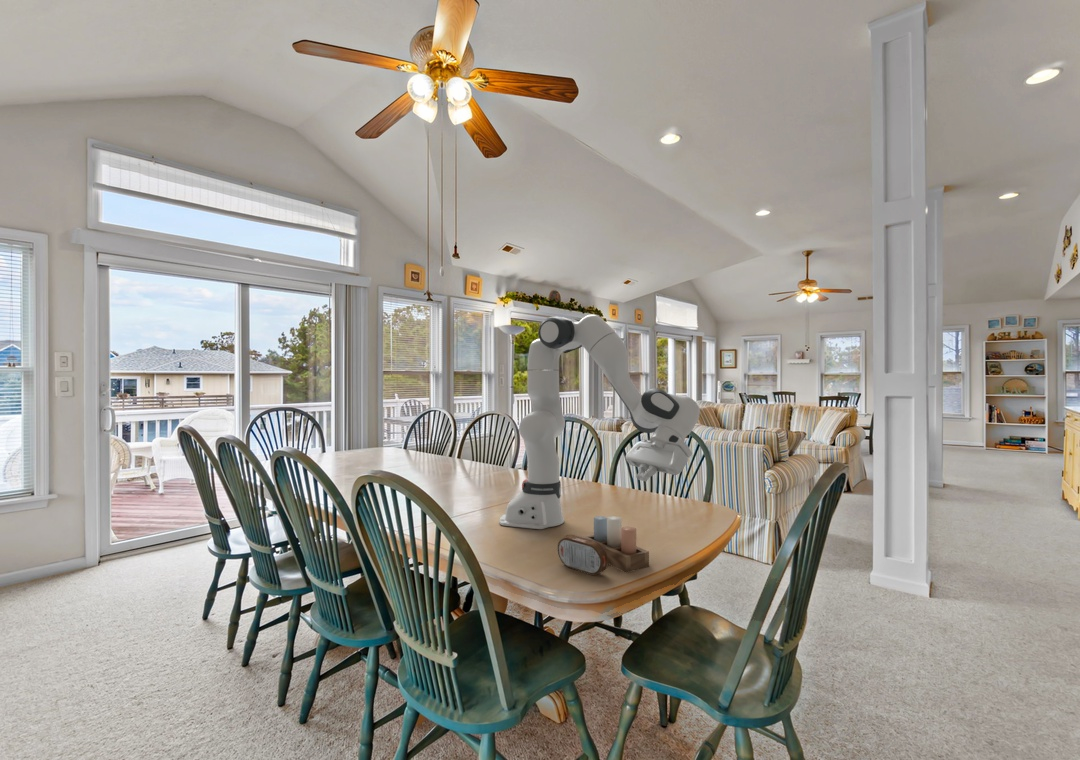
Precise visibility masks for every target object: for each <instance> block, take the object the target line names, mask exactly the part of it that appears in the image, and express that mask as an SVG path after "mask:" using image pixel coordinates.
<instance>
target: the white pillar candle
mask: <svg viewBox="0 0 1080 760" xmlns="http://www.w3.org/2000/svg"><path fill="white" fill-rule="evenodd" d="M622 519H623V518H622V517H620V516H615V515H614V516H613V515H612V516H608V517H607V546H609V547H611V548H617V547H621V528H623V526H622V524H623V523H622V521H623V520H622Z"/></svg>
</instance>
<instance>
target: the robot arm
mask: <svg viewBox="0 0 1080 760" xmlns="http://www.w3.org/2000/svg"><path fill="white" fill-rule="evenodd" d="M537 335H538V338H537V339H534V340H533V341H531V343H530V345H529V349H528V356H527V369H526V370H527V377H526V379H527V383H526V385H527V396H529V398H530V404H531V408H532V411H531V412H528V414H526V415H525V416H523V418H522V419H521V420H520V423H519V426H518V431H519V435H520V437H521V438H522V439H523V443H524V448H525V453H526V461H527V479H523V481H522V483H521V488H522V489H521V492H520V493H518V494H517V495H516V496H515V497H513V498H512V499H511V500H510V501H509V502H508V504H507V507H506V510H505V513H504V514H502V515H501V516H500V518H499V525H501V526H503V527H504V526H506V527H515V528H523V529H532V530H535V529H536V530H545V529H546V528H551V527H552V528H553V527H556V526H557V527H558V526H560V525H562V524H563V523H565V519H564V515H563V511H562V510H563V509H562V503H561V496H562V483H561V480H560V457H559V455H558V453H557V449H556V443H555V439H556V438H558V437H559V436H560V435H561V434H562V432H563V431H564V429H565V426H566V419H565V417H564V414H563V408H562V407H563V406H562V402H561V396H560V358H561V357H560V356H561V355H562V354H563V353H564V354H568V353H570V352H574V351H576V350H578V349H581V348H583V349H585V351H586V352H587V353H588V355H590V357H591V358H592V359H593V361H594V362H595V364H596V365H597V366H598V367H599V368H600V370H601V371H602V373H603V374H604V376H605V377H606V379H607V381H609V384H610V385H611V387H612V388H613V390H614V391H615V393H616V394H617V396H618V397H619V399H620V400H621V401H622V402H623V404H624V405H625V407H626V409H627V410H628V413H629V415H630V419H631V422H632V425H633V426H634V427H635V428H636V429H637V430H638V431H640V432H642V433H643V434H644V433H646V434H652V435H651V436H650V437H649V439H642V440H641V441H637V442H636V443H635V444H634V445H632V447H631V448H630V449H629V451H628V452H627V453H626V454H625V460H626V462H627V463H628V464H629V465H630V466H633V467H638V473H637V475H636V476H635V477H636V479H637V481H638V480H639V481H643V482H648V480H649V478H651V477H653V476H655V474H657V472H659V473H664V474H668V475H673V476H678V475H679V474H681V472H683V470H684V468H685V466H686V465H687V463H688V461H689V458H691V456H692V455H693V451H692V450H691V448H690V447H689V445H688V444H687V443H686V438H687V436H689V435H690V434H691V433H692V431H693V430H694V428H695V426H696V424H697V423H698V421H699V418H700V413H701V409H700V406H699V405H698V403H697V402H696V401H695V400H694V399H693V398H691V397H689V396H688V395H681V396H680V395H674V394H671V393H668V392H666V391H665V390H663V389H661V388H657V387H656V388H655V387H652V388H649V389H647V390H645V391H644V392H643V394H641V392H640V391H639V389H638V387H636V385H635V384H634V382H633V381H632V379H631V376H630V374H629V368H628V360H629V359H628V357H629V356H628V355H629V354H628V353H629V352H628V349H627V347H626V345H625V343H624V340H622V338H621V337H620V336H619V335H618V333H617V332H616V331H615V330H614V329H613V328H612V326H611V325H610V324H608V322H606V321H605V320H604V319H602V318H601V317H600V316H598V315H597V314H588V315H585V316H584V317H582V318H581V319H580V320H578V319H575V318H571V317H567V316H564V317H563V316H557V315H556V316H550V317H547V318H545V319H543V320H542V322H541V323H540V324H539V326H538V333H537Z"/></svg>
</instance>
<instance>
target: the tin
mask: <svg viewBox="0 0 1080 760" xmlns="http://www.w3.org/2000/svg"><path fill="white" fill-rule="evenodd" d="M557 554H558V558H559V560H560V561H561V562H562V564H563V565H564V566H565V567H567V568H569V567H570V568H569V569H573V570H575V569H576V571H578V570H579V572H581V571H582V572H581V573H584V572H585V574H587V573H588V575H590V574H591V576H596V575H598V574H600V573H602V572H604V571H606V569H607V568H608V565H609V564H608V556H607V553H606V551H605V549H604V548H603V546H602V545H601V544H600V543H598V542H596V541H593V540H590V539H586V538H582V536H578V535H575V534H567V535H566V536H564V537H562V538H561V539H560V540H559V541H558V543H557Z"/></svg>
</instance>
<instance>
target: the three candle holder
mask: <svg viewBox="0 0 1080 760" xmlns="http://www.w3.org/2000/svg"><path fill="white" fill-rule="evenodd" d="M581 537H582V536H581ZM582 538H586V539H590V540H593V541H595V540H594V534H592V535H587V536H583V537H582ZM596 542H598V541H596ZM598 543H600V544H601V545H602V546H603V548H604V549H605V551H606V553H607V556H608V565H609V564H610V566H611V565H612V566H611V567H613V566H614V567H613V568H615V567H616V569H617V568H618V570H619V569H620V570H619V571H621V570H622V571H621V572H623V571H624V573H625V572H626V574H627V573H630V572H634V571H638V570H642V569H645V568H649V567H650V552H649V551H648V550H646V549H644V548H642V547H639V546H637V545H636V553H635V554H631V555H627V554H624V553H622V552H621V547H617V548H611V547H609V546H607V541H603V542H598Z"/></svg>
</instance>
